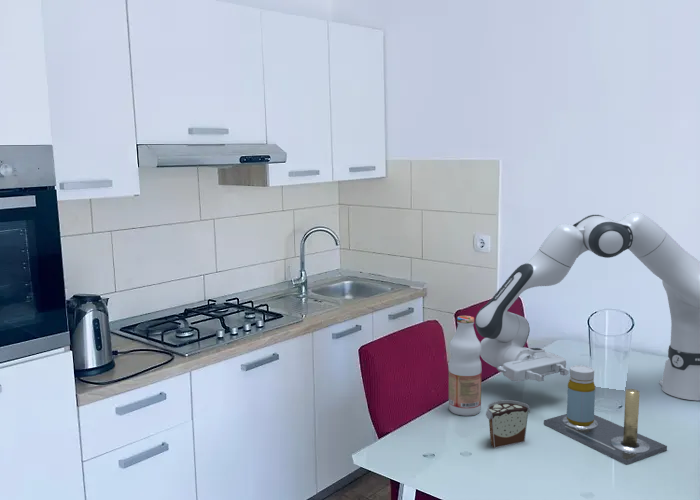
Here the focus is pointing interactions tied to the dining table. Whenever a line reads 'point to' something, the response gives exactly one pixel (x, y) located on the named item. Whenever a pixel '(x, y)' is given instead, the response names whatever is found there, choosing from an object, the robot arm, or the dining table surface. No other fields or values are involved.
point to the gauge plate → (612, 433)
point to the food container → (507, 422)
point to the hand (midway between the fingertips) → (554, 375)
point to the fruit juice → (465, 369)
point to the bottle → (581, 395)
